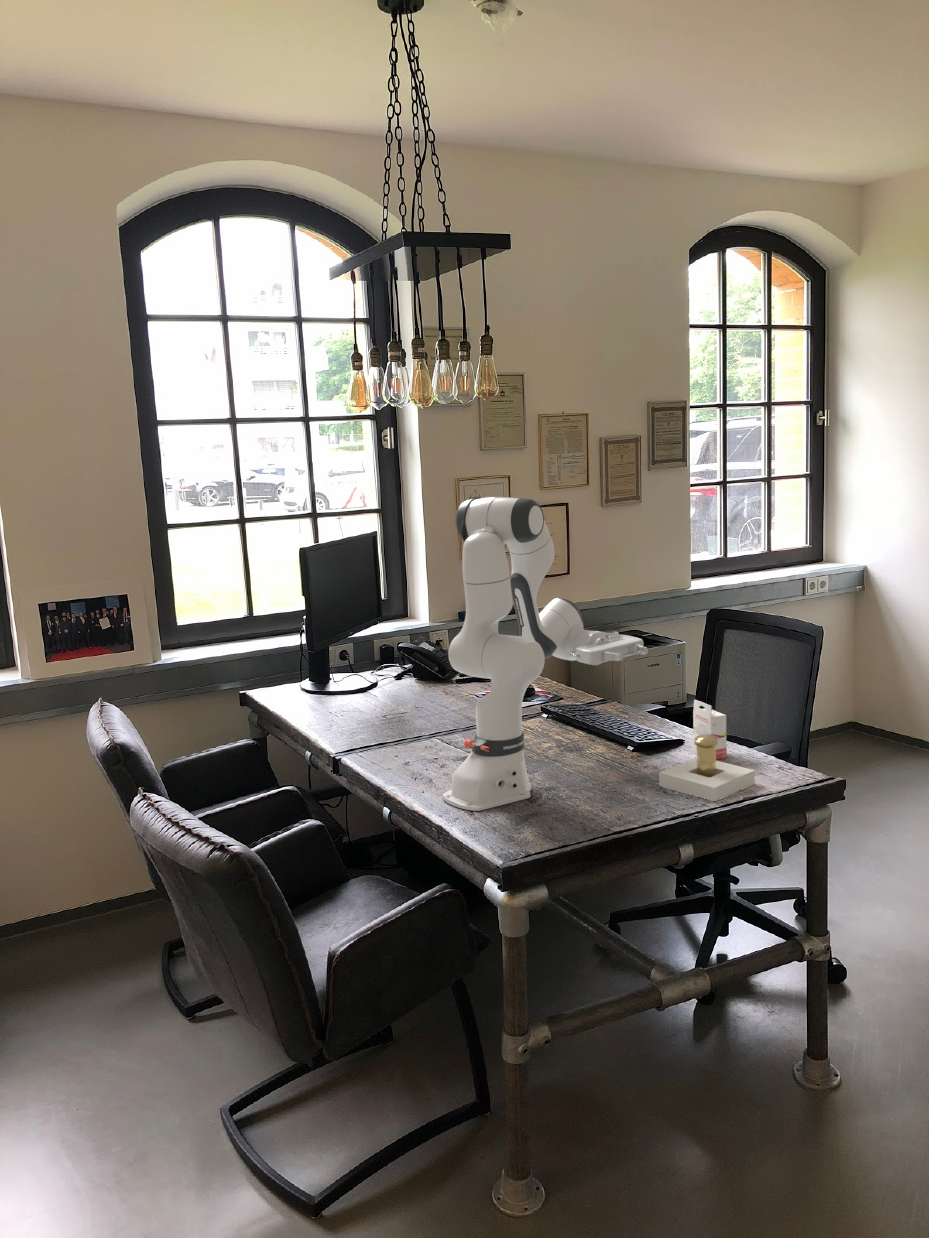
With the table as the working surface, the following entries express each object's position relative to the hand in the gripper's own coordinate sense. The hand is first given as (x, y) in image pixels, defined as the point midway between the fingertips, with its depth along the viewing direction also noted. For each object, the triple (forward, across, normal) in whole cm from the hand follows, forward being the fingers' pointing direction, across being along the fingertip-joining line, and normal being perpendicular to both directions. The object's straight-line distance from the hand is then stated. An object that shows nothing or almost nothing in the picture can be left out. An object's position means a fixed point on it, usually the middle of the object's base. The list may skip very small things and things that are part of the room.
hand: (633, 654), depth 249 cm
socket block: (+22, 0, +30) cm, 37 cm away
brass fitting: (+22, 0, +30) cm, 37 cm away
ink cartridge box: (+9, +19, +30) cm, 36 cm away
